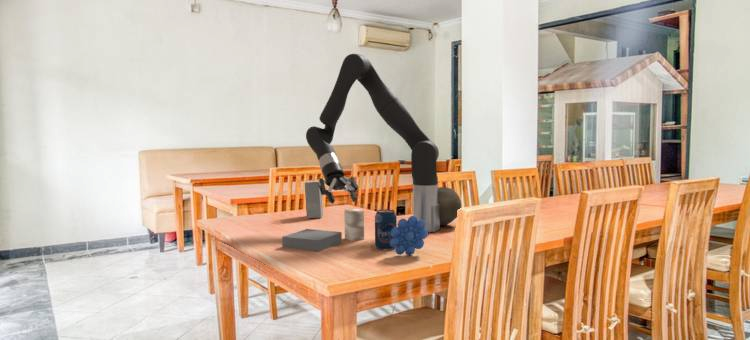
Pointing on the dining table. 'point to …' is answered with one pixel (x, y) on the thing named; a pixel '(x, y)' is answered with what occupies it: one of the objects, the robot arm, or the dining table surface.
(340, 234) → the slate base
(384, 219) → the soda can
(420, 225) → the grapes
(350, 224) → the grey piece
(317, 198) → the grey rectangular block
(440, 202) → the dark grey ball
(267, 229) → the dining table surface
